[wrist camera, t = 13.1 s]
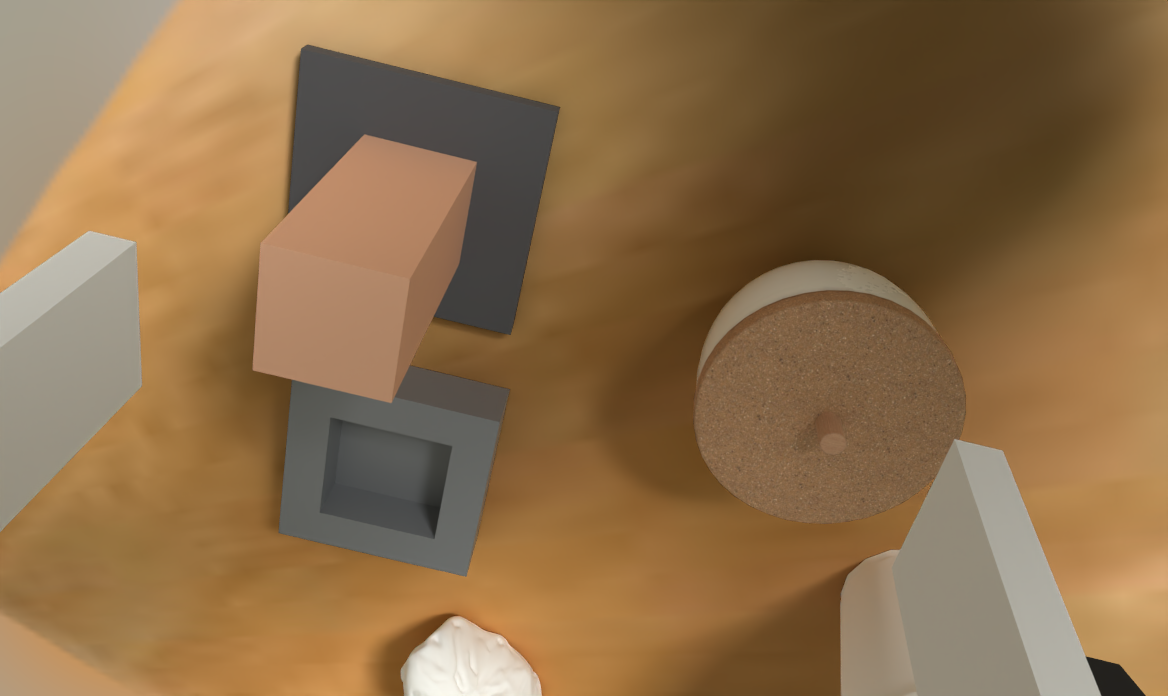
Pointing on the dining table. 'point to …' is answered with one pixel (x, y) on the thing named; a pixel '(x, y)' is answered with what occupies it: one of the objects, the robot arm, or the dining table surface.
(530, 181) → the mat
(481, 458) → the holder
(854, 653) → the foam cup
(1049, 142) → the dining table surface
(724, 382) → the lidded jar
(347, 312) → the block
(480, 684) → the bust
